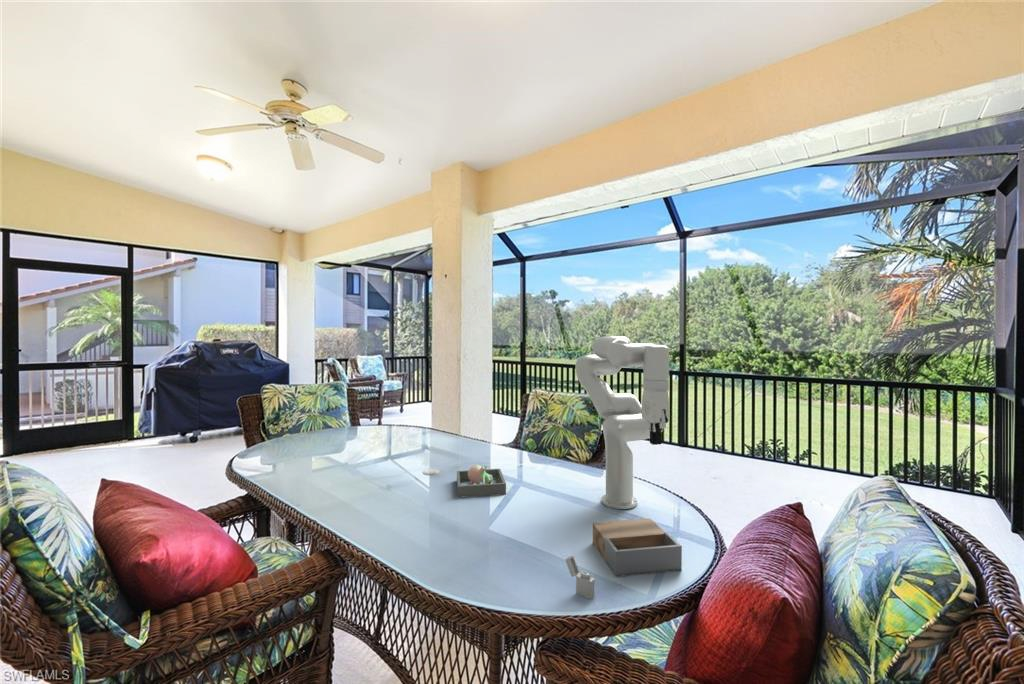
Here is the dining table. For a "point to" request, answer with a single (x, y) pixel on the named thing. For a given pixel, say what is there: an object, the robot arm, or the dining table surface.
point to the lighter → (581, 579)
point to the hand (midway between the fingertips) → (655, 443)
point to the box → (644, 558)
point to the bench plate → (627, 534)
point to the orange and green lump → (479, 475)
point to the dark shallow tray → (481, 488)
